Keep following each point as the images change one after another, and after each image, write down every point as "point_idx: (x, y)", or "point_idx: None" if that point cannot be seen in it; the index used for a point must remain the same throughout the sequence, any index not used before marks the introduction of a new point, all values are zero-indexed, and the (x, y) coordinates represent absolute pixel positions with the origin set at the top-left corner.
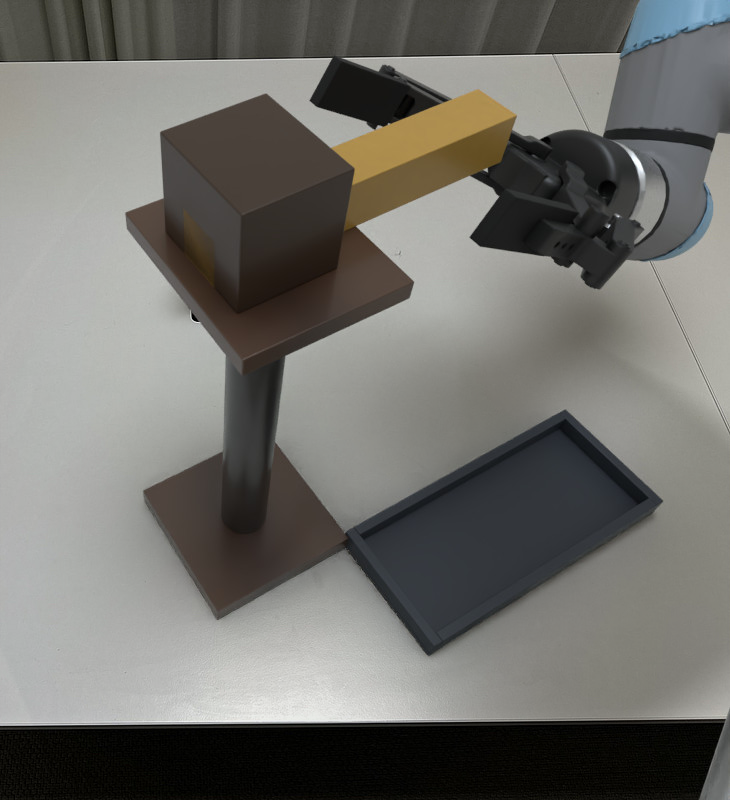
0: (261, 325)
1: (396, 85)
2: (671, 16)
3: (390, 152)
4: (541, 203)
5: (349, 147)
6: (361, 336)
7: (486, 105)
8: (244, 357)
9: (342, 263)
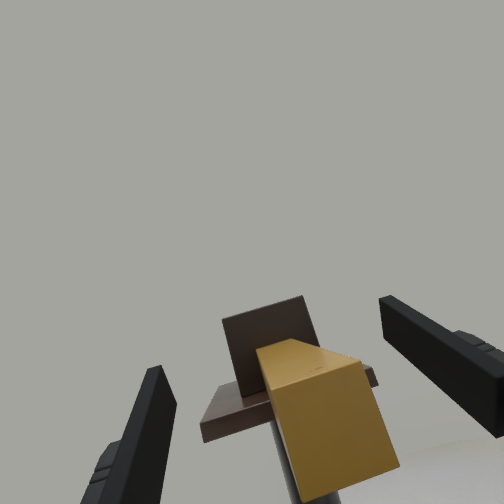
0: (230, 386)
1: (463, 359)
2: None
3: (274, 352)
4: (134, 405)
5: (293, 343)
6: None
7: (311, 369)
8: (219, 386)
9: (243, 399)
